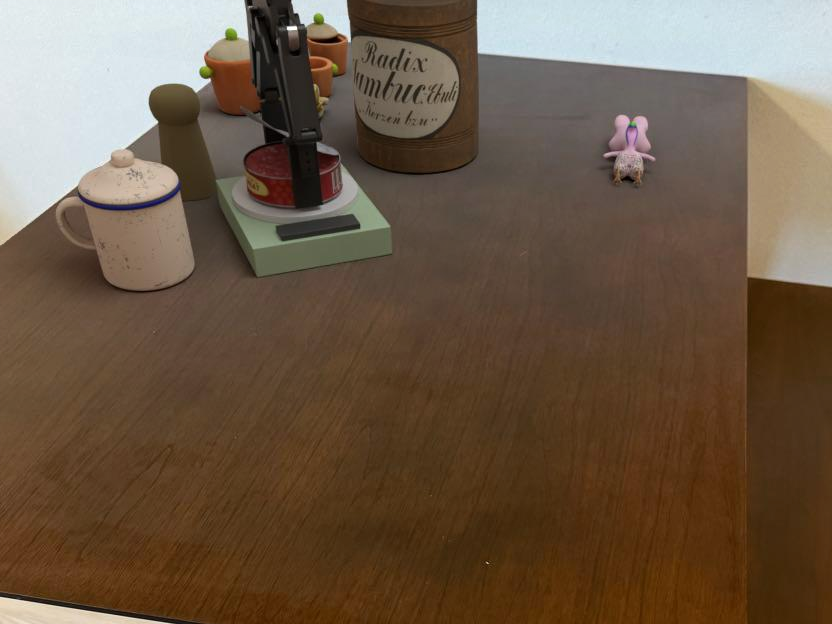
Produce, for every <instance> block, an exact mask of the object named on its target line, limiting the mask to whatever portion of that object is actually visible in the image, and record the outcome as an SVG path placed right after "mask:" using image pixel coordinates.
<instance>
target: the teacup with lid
mask: <svg viewBox="0 0 832 624" xmlns="http://www.w3.org/2000/svg"><path fill="white" fill-rule="evenodd" d="M180 188H181V182H180V179H179V178H178V176H177V174H176V173H175V172H174V171H173V170H172V169H171V168H169V167H167V166H165V165H163V164H161V163H159V162H155V161H150V160H149V161H148V160H144V159H140V158H136V157H135V154H134V153H133V152H132V150H129V149H125V148H122V149H121V148H120V149H116V150H113V151H112V152H111V154H110V160H109V161H107V162H105V163H104V164H103V165H100V166H98V167H95V168H93V169H91V170H89V171H87V173H85V174H84V175H83V176H82V177H81V178H80V180H79V181H78V184H77V196H69V197H66V198H64V199H63V200H61V201H60V202H59V203H58V205H57V207H56V208H55V220H56V223H57V226H58V228H59V229H60V231H61V232H62V233H63V235H64V236H65V237H66V238H67V239H68V240H69V241H70V242H71V243H72V244H74V245H76V246H78V247H79V248H83V249H87V250H91V251H92V250H95V251H96V253H97V256H98V260H99V265H100V267H101V271H102V274H103V277H104V278H105V280H106V281H107V282H108V283H109V284H111V285H112V286H115V287H117V288H119V289H122V290H127V291H134V292H135V291H136V292H147V291H158V290H162V289H166V288H169V287H172V286H174V285H177V284H179V283H182V281H184V280H186V279H187V278H188V277H189V276H190V275H192V273H193V272H194V269H195V266H196V265H195V264H196V263H195V257H194V252H193V248H192V243H191V238H190V233H189V228H188V223H187V219H186V214H185V209H184V205H183V200H182V199H181V195H180ZM71 208H84V210H85V214H86V218H87V221H88V225H89V229H90V232H91V235H92V238H88V237H85V236H83V235H81V234H79V233H78V232H77V231H76V230H75V229H74V228H73V226H71V224H70V222H69V221H68V219H67V215H66V210H67V209H71Z"/></svg>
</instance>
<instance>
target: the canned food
mask: <svg viewBox="0 0 832 624" xmlns="http://www.w3.org/2000/svg"><path fill="white" fill-rule="evenodd" d="M240 107H241V109H242V111H243V112H244V113H245V114H246V115H245V116H246V117H248V118H250V119H251V120H252V121H254V122H257V123H258V124H259V125H262V126H263V125H264V126H266V127H268V128H271V129H273V130H275V131H277V132H279V133H281V134H283V135H284V136H286V137H289V133H288V132H285V131H282V130H278V129H274V128H273V127H271V126H270V125H268V124H267V123H266V122H264V121H263V120H262V118H260V117H258V116H257V115H256V114H255V113H252V112H251V111H249V110H247V109H245V108H242V106H241V105H240ZM317 151H318V161H319V170H320V180H321V190H322V199H323V202H326V201H329V200H331V199H333V198H334V197H336V196H337V195H338V194H339V193H340V192H341V190H342V188H343V183H342V172H341V164H342V162H341V159H342V158H341V155H340V153H339V151H338V150H337V149H335V148H334V147H333V146H330V145H327V144H324V143H322V142H317ZM242 165H243V171H244V176H245V177H246V183H247V191H248V193H249V195H250V196H251V197H252V198H253V199H255V200H257V201H259V202H261V203H264V204H267V205H272V206H278V207H295V203H294V195H293V187H292V179H291V171H290V163H289V155H288V147H287V146H284V145H283V142H282V141H277V142H272V143H267V144H265V143H264V144H260V145H258V146H256V147H254V148H252V149H250V150H249V151H247V152H246V153H245V154H244V156H243V158H242Z"/></svg>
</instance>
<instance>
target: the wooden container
mask: <svg viewBox="0 0 832 624" xmlns="http://www.w3.org/2000/svg"><path fill="white" fill-rule="evenodd" d="M346 7H347V16H348V20H349V33H350V34H349V35H350V51H351V54H350V55H351V68H352V69H351V70H352V71H351V72H352V88H353V89H352V90H353V91H352V92H353V105H354V116H355V121H356V122H355V130H356V138H357V139H356V140H357V149H358V153H359V155H360V156H361V157H362V159H363V160H364V161H366V162H368V163H369V164H370V165H371V164H372V165H373V166H375V167H377V168H381V169H384V170H388V171H391V172H398V173H405V174H431V173H441V172H444V171H445V172H446V171H451V170H454V169H457V168H459V167H462V166H464V165H466V164H468V163H470V162H471V161H472V160H473V159H475V157H476V156H477V155H478V154H479V153H478V152H479V130H480V129H479V128H480V127H479V125H480V124H479V123H480V121H479V120H480V119H479V118H480V105H479V104H480V85H479V81H480V80H479V79H480V78H479V77H480V76H479V45H478V44H479V40H478V0H346Z"/></svg>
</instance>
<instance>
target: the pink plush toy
mask: <svg viewBox="0 0 832 624" xmlns="http://www.w3.org/2000/svg"><path fill="white" fill-rule="evenodd" d="M613 127H614V131H615V134H614V135H613V137H612V138H611V139H610V140H609V142H608V148H609V150H610V152H607V153H606V152H605V153H604V154H603V155H602V156H603V158H604V159H608V158H610V157H613V158H614V157H615V161H614V162H613V163H614V164H613V169H612V171H613V176H614V177H615V178H614V179H613V183H615V182H616V183H615V185H616V184H617V185H618V182H620V184H621V183H623V182H622V179H624V178H625V177H629V178H630V179H632V180H633V181H634V182H633V184H635V183H636V184H639V183H640V184H642V180H641V178H642V177H643V174H644V160H648V161H650V162H651V163H654V162H655V161H656V158H655V157H654V156H652V155H650V154H648V153H649V152H650V151H651V148H652V147H651V143H650V141H649V140H648V138H647V135H646V133H647V131H648V129H649V122H648V119H647V118H646V117H645V116H642V115H638V116H635V117H634V118H633V120H632V121H630V117H628V116H627V115H625V114H619V115H617V116H616V118H615V120H614V124H613Z"/></svg>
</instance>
